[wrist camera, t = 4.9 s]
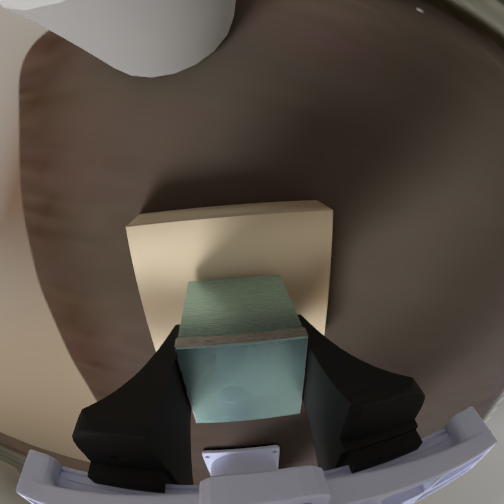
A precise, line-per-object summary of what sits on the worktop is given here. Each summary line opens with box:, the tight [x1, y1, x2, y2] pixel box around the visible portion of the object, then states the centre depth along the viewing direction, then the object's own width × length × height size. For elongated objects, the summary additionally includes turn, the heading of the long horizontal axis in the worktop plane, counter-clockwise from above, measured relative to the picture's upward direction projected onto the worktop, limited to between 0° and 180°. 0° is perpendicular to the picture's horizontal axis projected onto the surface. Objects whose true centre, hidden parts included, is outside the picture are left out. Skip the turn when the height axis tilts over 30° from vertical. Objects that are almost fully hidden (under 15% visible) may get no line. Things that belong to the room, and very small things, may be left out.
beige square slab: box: [126, 200, 333, 352], centre depth 16 cm, size 10×10×3 cm
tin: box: [174, 274, 308, 423], centre depth 12 cm, size 4×4×5 cm
